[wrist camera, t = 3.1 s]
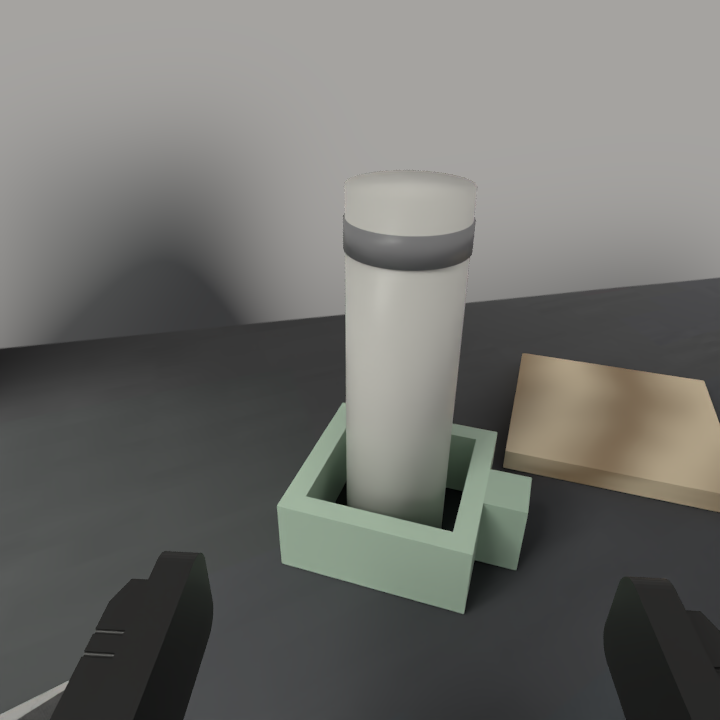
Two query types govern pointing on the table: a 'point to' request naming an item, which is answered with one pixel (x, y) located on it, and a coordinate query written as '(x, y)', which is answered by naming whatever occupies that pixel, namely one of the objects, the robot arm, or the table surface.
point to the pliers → (36, 706)
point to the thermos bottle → (403, 335)
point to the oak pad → (616, 430)
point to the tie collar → (405, 524)
